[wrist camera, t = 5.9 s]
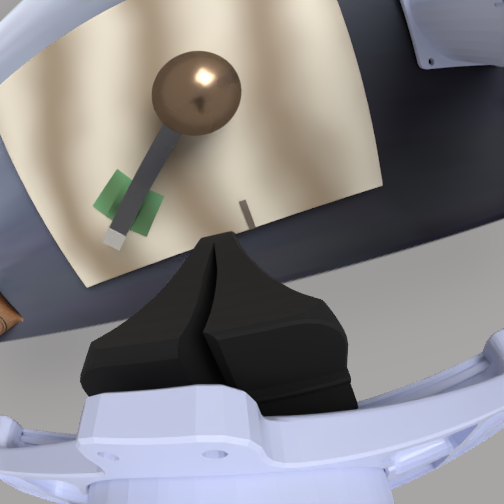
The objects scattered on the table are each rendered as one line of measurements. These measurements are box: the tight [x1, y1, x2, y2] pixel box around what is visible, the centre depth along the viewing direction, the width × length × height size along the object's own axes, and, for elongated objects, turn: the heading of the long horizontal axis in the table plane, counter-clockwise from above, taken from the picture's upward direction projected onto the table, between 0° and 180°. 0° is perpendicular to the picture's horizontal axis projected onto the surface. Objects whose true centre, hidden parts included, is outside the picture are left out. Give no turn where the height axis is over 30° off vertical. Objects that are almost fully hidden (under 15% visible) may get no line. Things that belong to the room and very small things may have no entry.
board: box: [0, 0, 383, 287], centre depth 16 cm, size 22×16×1 cm
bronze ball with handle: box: [102, 51, 242, 251], centre depth 15 cm, size 11×4×3 cm, turn 145°
